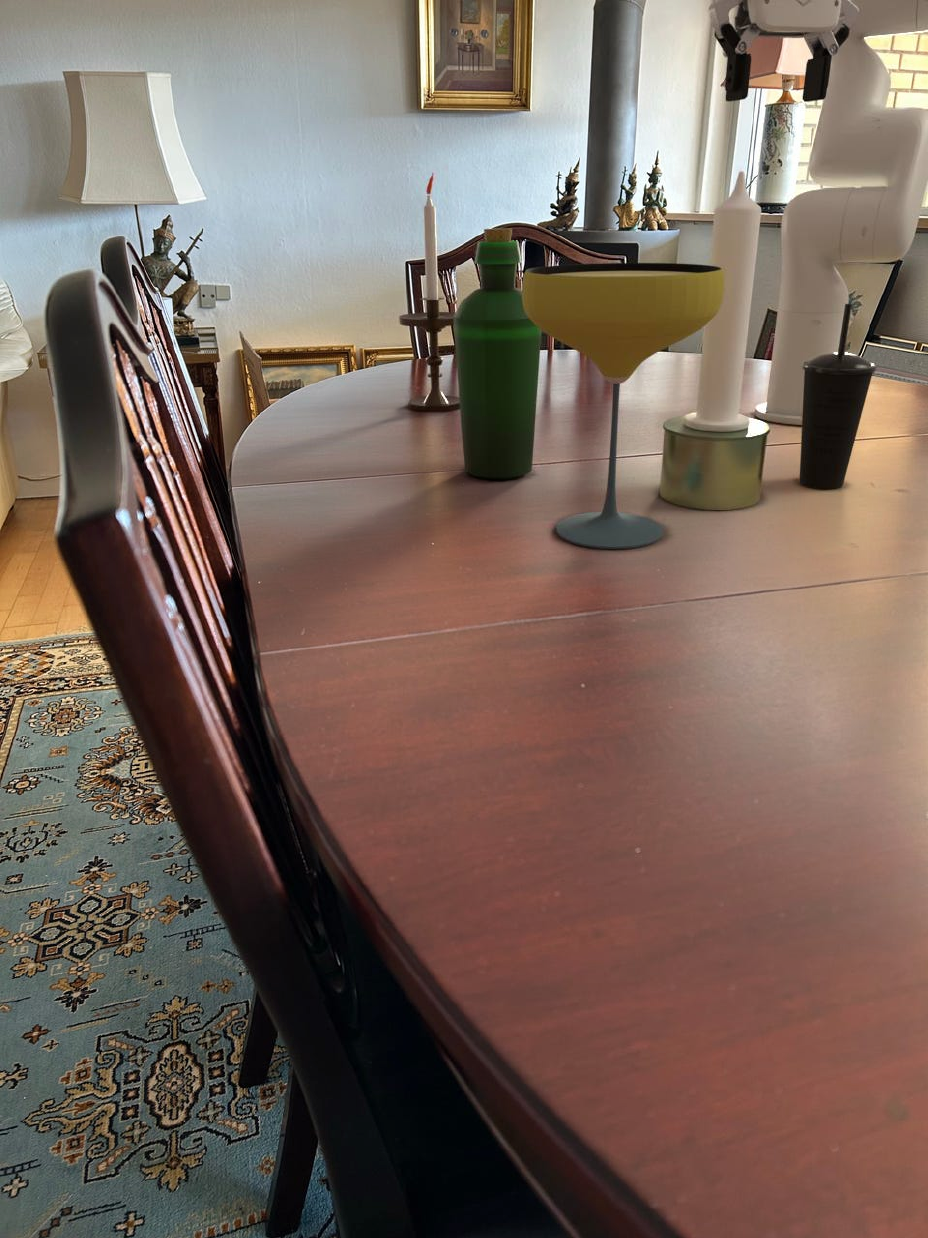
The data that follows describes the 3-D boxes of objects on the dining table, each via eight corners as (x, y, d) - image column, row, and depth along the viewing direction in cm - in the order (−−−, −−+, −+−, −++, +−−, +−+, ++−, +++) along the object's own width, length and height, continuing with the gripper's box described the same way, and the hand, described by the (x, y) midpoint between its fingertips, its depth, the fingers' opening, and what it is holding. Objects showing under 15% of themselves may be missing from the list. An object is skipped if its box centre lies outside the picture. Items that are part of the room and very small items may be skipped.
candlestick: (471, 399, 154) (467, 172, 139) (465, 412, 144) (460, 170, 129) (408, 399, 155) (398, 174, 140) (398, 412, 145) (386, 172, 130)
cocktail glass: (661, 576, 80) (685, 278, 69) (488, 543, 89) (485, 274, 78) (723, 519, 94) (750, 263, 83) (567, 495, 102) (574, 261, 92)
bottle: (550, 464, 115) (555, 226, 103) (528, 486, 106) (531, 229, 94) (471, 458, 118) (468, 227, 106) (444, 480, 109) (436, 230, 97)
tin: (724, 477, 108) (731, 410, 105) (782, 503, 98) (792, 431, 95) (640, 487, 105) (644, 419, 102) (691, 515, 95) (698, 441, 92)
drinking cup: (823, 496, 100) (852, 309, 92) (772, 480, 106) (795, 303, 98) (870, 486, 103) (903, 304, 95) (819, 471, 109) (845, 298, 101)
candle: (752, 433, 94) (783, 168, 84) (683, 431, 96) (706, 171, 85) (747, 418, 101) (775, 171, 90) (682, 417, 102) (703, 173, 91)
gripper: (743, -117, 83) (724, 96, 90) (896, -105, 87) (866, 96, 95) (699, -94, 89) (685, 103, 97) (844, -84, 94) (820, 103, 101)
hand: (775, 100), depth 96 cm, fingers open, 9 cm apart
